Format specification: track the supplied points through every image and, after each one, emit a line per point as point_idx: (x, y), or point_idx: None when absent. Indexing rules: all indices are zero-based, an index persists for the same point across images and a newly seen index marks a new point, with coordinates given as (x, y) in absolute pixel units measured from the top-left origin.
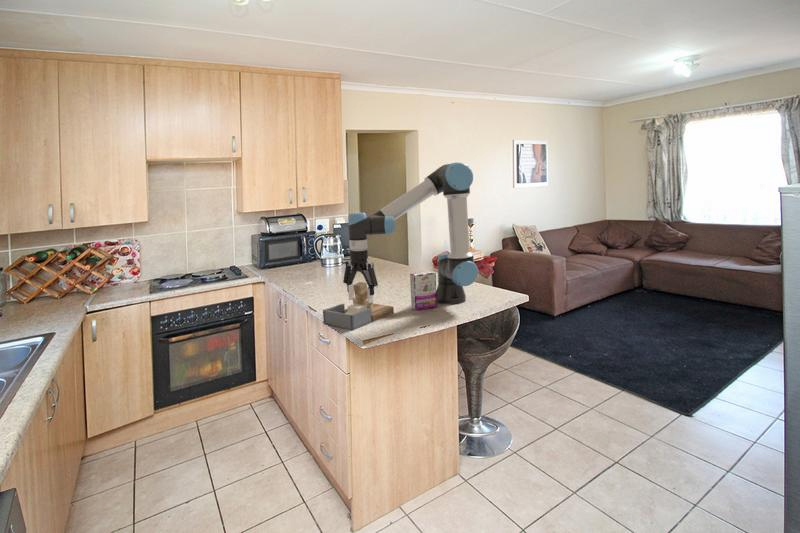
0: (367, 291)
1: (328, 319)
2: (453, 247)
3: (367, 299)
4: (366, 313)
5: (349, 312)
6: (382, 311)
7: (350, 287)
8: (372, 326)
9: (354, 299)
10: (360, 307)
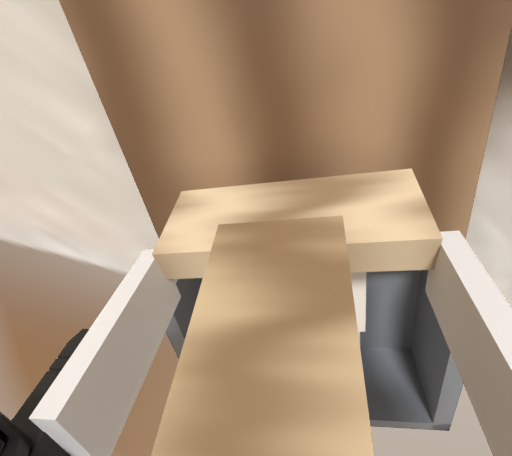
0: (485, 434)
1: None
2: None
3: (360, 248)
4: None
5: None
6: (494, 94)
7: (113, 422)
8: (497, 268)
9: (195, 272)
10: (365, 309)
